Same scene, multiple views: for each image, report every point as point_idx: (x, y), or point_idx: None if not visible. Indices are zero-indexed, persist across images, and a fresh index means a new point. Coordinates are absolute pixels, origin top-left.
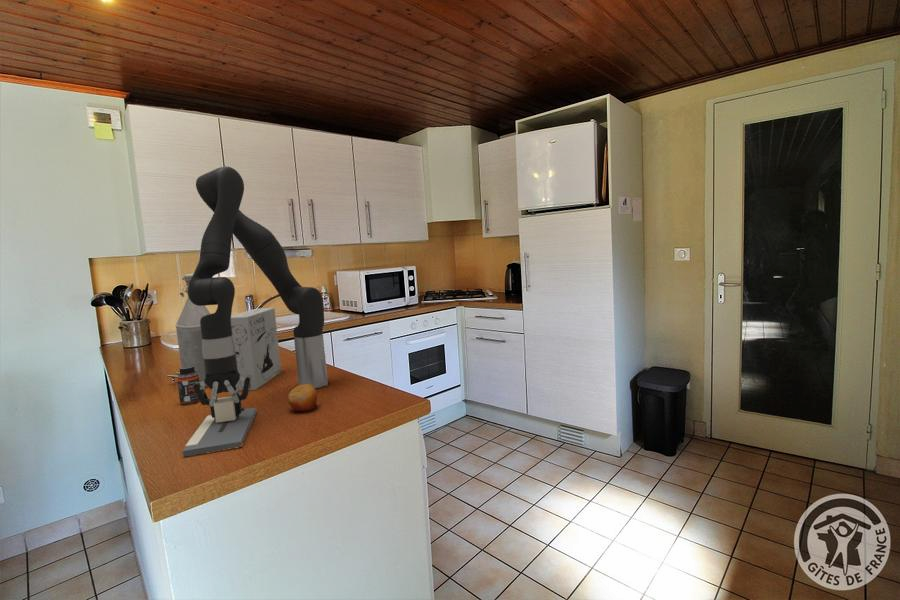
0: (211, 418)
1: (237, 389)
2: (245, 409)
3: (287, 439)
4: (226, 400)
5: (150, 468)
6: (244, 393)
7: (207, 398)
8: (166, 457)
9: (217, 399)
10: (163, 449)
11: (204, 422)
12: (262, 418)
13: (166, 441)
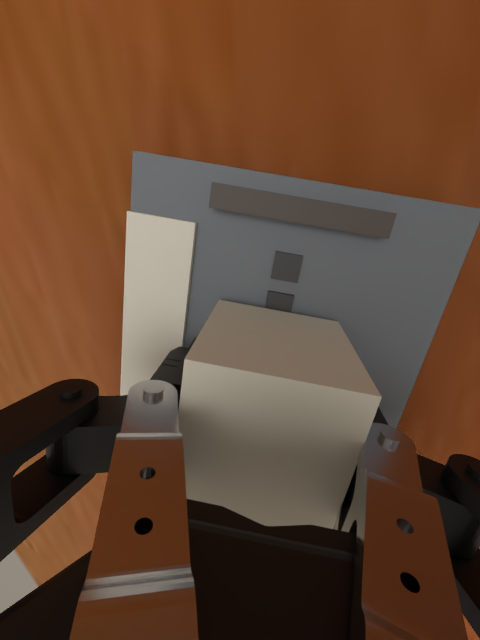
0: (164, 296)
1: (436, 509)
2: (397, 209)
3: (474, 634)
4: (272, 491)
5: (47, 577)
6: (474, 595)
7: (77, 423)
8: (67, 534)
9: (183, 405)
10: (28, 464)
11: (134, 349)
12: (459, 353)
13: (5, 386)
